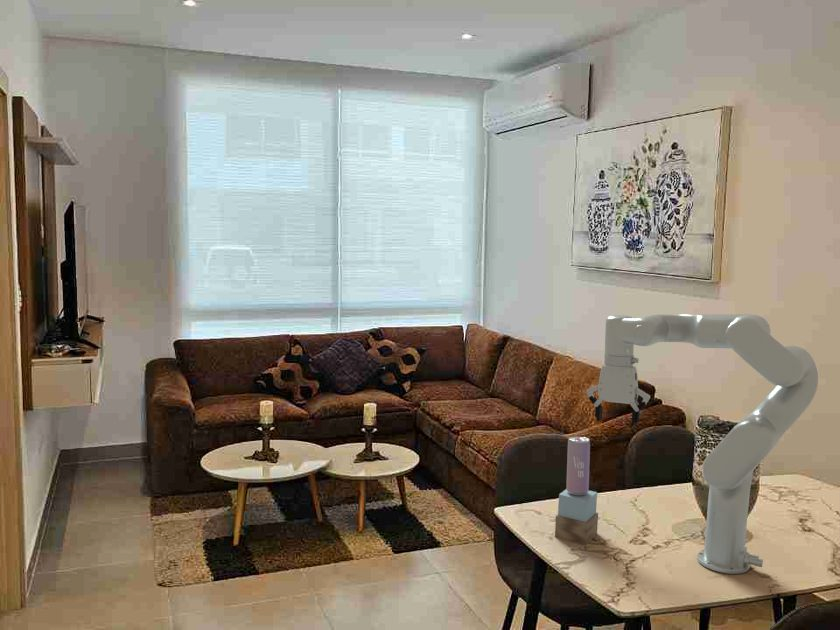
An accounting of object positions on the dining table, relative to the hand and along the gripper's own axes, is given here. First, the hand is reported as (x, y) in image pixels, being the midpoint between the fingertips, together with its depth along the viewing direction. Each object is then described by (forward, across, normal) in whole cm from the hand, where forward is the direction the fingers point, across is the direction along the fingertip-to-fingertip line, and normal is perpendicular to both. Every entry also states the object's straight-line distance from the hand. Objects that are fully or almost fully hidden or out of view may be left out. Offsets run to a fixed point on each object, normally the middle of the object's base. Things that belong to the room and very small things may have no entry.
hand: (616, 422), depth 210 cm
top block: (+26, +9, +6) cm, 28 cm away
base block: (+32, +9, +6) cm, 33 cm away
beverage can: (+20, +9, +6) cm, 22 cm away
